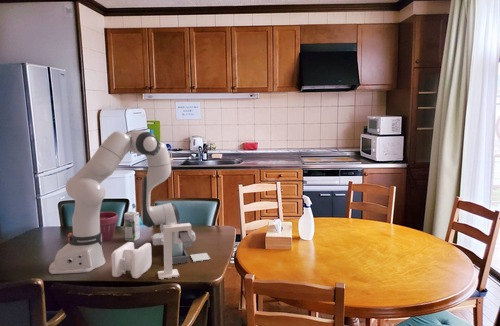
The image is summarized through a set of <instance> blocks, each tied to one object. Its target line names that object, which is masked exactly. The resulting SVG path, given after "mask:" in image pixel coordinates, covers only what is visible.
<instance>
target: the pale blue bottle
mask: <svg viewBox="0 0 500 326" xmlns="http://www.w3.org/2000/svg"><path fill="white" fill-rule="evenodd" d="M183 250H184V246H183V244H182V243H178V244H174V241H173V232H172V257H179V256H183Z"/></svg>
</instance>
